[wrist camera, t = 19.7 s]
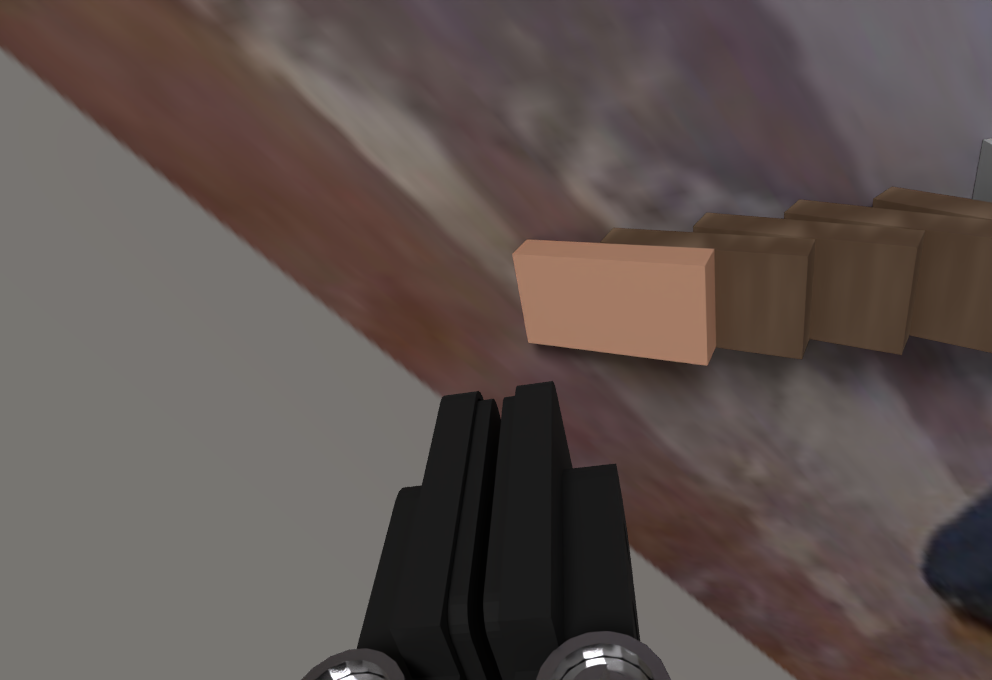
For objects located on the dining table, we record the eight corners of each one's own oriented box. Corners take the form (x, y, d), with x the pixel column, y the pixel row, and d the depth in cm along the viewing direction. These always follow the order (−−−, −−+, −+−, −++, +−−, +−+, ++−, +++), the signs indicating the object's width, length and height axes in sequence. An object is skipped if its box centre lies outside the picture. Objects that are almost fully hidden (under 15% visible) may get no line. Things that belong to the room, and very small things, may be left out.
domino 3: (706, 212, 33) (925, 230, 28) (708, 304, 36) (909, 335, 31) (693, 226, 32) (917, 247, 27) (696, 319, 35) (901, 354, 30)
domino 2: (613, 227, 34) (815, 239, 29) (622, 316, 36) (808, 340, 32) (600, 242, 33) (807, 256, 28) (610, 332, 35) (802, 359, 31)
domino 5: (799, 199, 33) (1035, 225, 27) (795, 293, 35) (1010, 335, 29) (784, 212, 32) (1025, 242, 26) (781, 307, 34) (1000, 354, 28)
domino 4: (892, 186, 32) (1143, 226, 25) (880, 282, 35) (1106, 341, 28) (873, 198, 31) (1127, 243, 25) (862, 296, 34) (1090, 359, 27)
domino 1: (526, 239, 34) (714, 248, 30) (541, 326, 37) (716, 346, 32) (512, 253, 33) (704, 265, 29) (528, 342, 36) (707, 365, 31)
